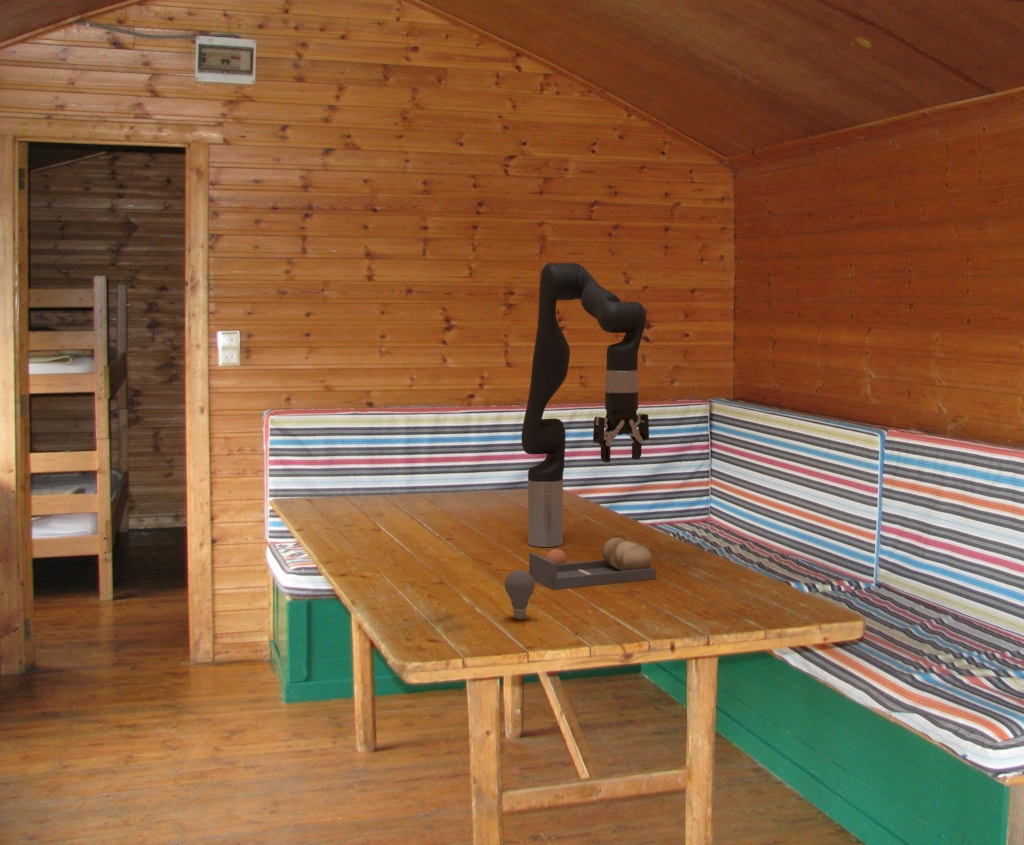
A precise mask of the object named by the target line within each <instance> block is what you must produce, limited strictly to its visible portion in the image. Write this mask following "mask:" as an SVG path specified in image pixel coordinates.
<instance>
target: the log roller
mask: <svg viewBox="0 0 1024 845" xmlns="http://www.w3.org/2000/svg"><path fill="white" fill-rule="evenodd" d="M601 552H602V554H601V555H602V560H604V561H605V562H606V563H607V564H608V565H610V566H612V567H614V568H617V569H619V570H621V571H628V570H637V569H647V568H651V566H652V562H653V560H652V553H651V551H650V550H649V549H648V548H647V547H645V546H643V545H640V544H637V543H634V542H633V541H630V540H626V539H623V537H616V536H615V537H612V538H609V539H608V540H607V541H606V542H605V543H604V545H603V546H602V551H601Z"/></svg>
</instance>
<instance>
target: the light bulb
mask: <svg viewBox="0 0 1024 845" xmlns="http://www.w3.org/2000/svg"><path fill="white" fill-rule="evenodd" d="M535 586H536V584H535V580H534V579H533V577H532V576H531V575H530V574H529V572H528V571H526V570H523V569H516V570H515V569H514V570H513V571H511V572H510V573H509V574H508V575H507V577H506V578H505V581H504V588H505V592H506V593H507V595H508V597H509V599H510V602H511V603H510V604H511V606H512V613H513V615H512V616H513V618H514V619H517V620H519V621H521V620H523V619H526V618H527V607H528V605H529V600H530V597H531V596H532V594H533V593H534V591H535Z"/></svg>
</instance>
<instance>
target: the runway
mask: <svg viewBox="0 0 1024 845" xmlns="http://www.w3.org/2000/svg"><path fill="white" fill-rule="evenodd" d="M528 554H529V555H528V556H529V557H528V560H529V561H528V563H529V564H528V565H529V572H528V573H529V574H530V575H531V576H532V577H533V579H534V582H535V581H536V582H537V583H539V584H541V585H543V586H544V587H547V588H549V589H551V590H554V591H555V590H563V589H572V588H573V589H574V588H583V587H590V586H591V587H593V586H599V585H600V586H601V585H608V584H609V585H610V584H619V583H627V582H639V581H647V580H655V579H656V570H657V569H656V568H655V567H650V568H647V569H637V570H628V571H621V570H619V569H617V568H614V567H612V566H610V565H608V564H607V563H606V562H605V561H604V559H600V560H590V561H581V562H579V561H578V562H572V563H570V562H569V563H565V564H558V565H557V563H555V562H553V561H550V560H548V559H546V558H547V557H544V556H542V555H540V554H537V553H535V552H529V553H528Z"/></svg>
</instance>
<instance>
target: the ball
mask: <svg viewBox="0 0 1024 845" xmlns="http://www.w3.org/2000/svg"><path fill="white" fill-rule="evenodd" d="M545 558H546V559H548V560H550V561H553V562H555V563H557V565H558V564H567V556H566V553H565V552H564V551H563V550H561V549H559V548H554V549H551V550H550V551H549V552H548V553H547V554H546V557H545Z"/></svg>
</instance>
